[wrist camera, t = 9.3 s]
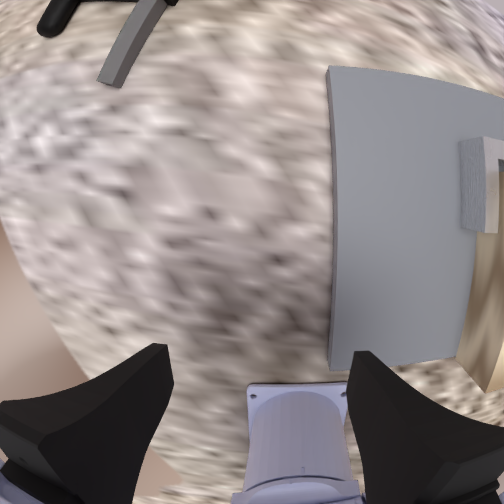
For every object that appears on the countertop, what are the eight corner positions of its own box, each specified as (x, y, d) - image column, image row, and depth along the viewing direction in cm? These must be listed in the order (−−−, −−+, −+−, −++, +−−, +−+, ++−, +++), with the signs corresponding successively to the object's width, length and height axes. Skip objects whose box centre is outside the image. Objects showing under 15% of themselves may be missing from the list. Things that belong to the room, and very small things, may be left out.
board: (519, 332, 19) (528, 338, 17) (327, 360, 21) (329, 371, 19) (532, 116, 15) (542, 114, 13) (325, 74, 17) (329, 65, 15)
